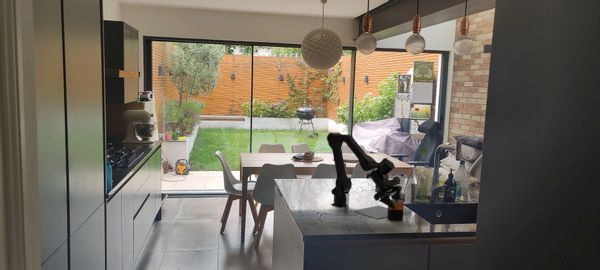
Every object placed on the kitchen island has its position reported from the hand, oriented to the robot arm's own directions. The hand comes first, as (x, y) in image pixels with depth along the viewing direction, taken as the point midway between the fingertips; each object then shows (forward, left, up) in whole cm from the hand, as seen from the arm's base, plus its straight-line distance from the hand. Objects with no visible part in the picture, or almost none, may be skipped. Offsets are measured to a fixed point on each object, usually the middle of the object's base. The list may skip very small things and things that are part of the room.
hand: (398, 207), depth 207 cm
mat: (-14, +3, -7) cm, 16 cm away
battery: (-1, 0, -7) cm, 7 cm away
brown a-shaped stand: (-43, +42, -7) cm, 61 cm away
